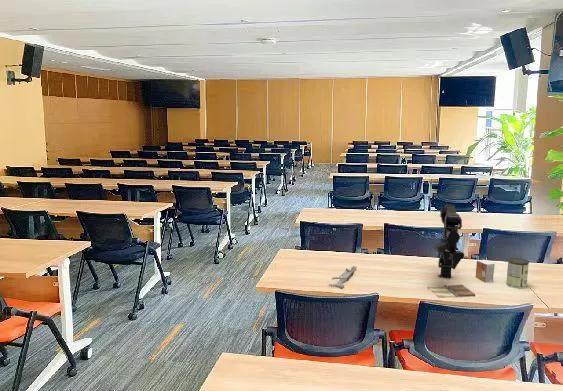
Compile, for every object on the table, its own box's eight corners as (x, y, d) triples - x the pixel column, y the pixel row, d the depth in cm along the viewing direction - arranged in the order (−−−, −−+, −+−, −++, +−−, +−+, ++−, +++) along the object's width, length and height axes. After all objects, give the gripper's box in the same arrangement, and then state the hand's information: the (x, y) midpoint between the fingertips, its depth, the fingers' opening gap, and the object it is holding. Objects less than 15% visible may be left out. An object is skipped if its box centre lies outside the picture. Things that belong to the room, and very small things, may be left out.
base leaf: (427, 289, 259) (427, 286, 259) (447, 288, 261) (447, 285, 260) (438, 299, 246) (439, 295, 245) (459, 298, 247) (459, 295, 247)
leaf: (443, 288, 260) (443, 285, 260) (461, 287, 262) (461, 283, 261) (456, 298, 247) (456, 295, 246) (475, 296, 248) (475, 293, 248)
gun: (343, 263, 296) (359, 263, 292) (343, 268, 296) (359, 269, 292) (324, 282, 263) (342, 283, 259) (325, 288, 264) (343, 289, 260)
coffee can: (507, 280, 273) (509, 256, 271) (527, 284, 268) (529, 259, 266) (504, 286, 265) (506, 261, 262) (525, 289, 259) (528, 264, 257)
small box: (475, 278, 277) (476, 260, 276) (482, 277, 279) (484, 259, 277) (485, 282, 270) (486, 264, 268) (493, 281, 272) (494, 263, 270)
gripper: (429, 233, 265) (427, 261, 268) (444, 243, 247) (443, 272, 250) (449, 233, 267) (447, 260, 269) (465, 242, 248) (463, 271, 251)
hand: (449, 266), depth 260 cm, fingers open, 9 cm apart
